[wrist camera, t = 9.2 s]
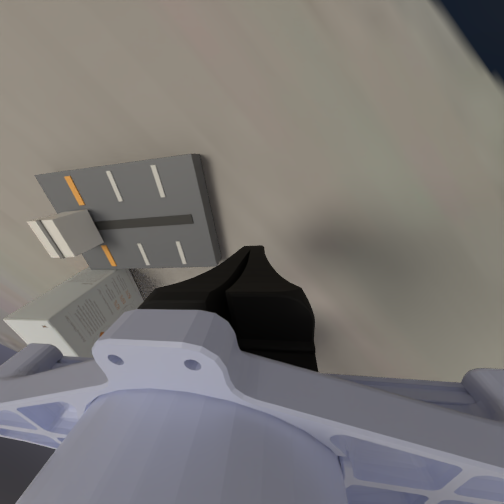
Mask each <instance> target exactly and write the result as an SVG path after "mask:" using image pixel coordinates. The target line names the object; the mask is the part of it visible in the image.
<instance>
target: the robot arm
mask: <svg viewBox="0 0 504 504" xmlns="http://www.w3.org/2000/svg"><path fill="white" fill-rule="evenodd" d="M314 327H315V319H314V314H313V311H312V308H311V306H310V303H309V301H308V299H307V297H306V295H305V293H304V292H303V290H302V288H300V287H298V286H296V285H294V284H292V283H290V282H288V281H287V280H285V279H284V278H282V277H281V276H280V275H279V274H278V273H277V272H276V271H275V270H274V269H273V267H272V266H271V265H270V263H269V261H268V260H267V258H266V256H265V251H264V247H263V246H244V247H242V248H241V249H240V250H238V251H237V252H236V253H235V254H233V255H232V256H231V257H230V258H228V259H227V260H225V261H224V262H222V263H221V264H220V265H218V266H216V267H215V268H213V269H211V270H209V271H207V272H205V273H203V274H201V275H198V276H196V277H194V278H191V279H188V280H185V281H182V282H179V283H176V284H172V285H168V286H164V287H160V288H156V289H155V290H154V291H153V292H152V293H151V294H150V295H149V296H148V297H147V298H146V299H145V300H144V302H143V303H142V304H141V305H140V306H139V307H138V308H137V309H135V310H131V311H126V312H124V313H123V314H122V315H121V316H120V317H119V318H118V319H117V320H116V321H115V322H114V323H113V324H112V325H111V326H110V327H109V328H108V329H107V330H106V331H105V332H104V333H103V334H102V336H101V337H100V338H99V339H98V340H97V341H96V342H95V344H94V346H93V347H92V354H93V357H94V358H87V357H72V356H63V354H62V352H61V351H60V350H59V349H58V348H57V347H56V346H54V345H51V344H40V343H30V344H29V345H27V346H26V347H25V348H23V349H22V350H21V351H19V352H18V353H17V354H15V355H14V356H13V357H11V358H10V359H9V360H7V361H6V362H5V363H4V364H2V365H1V366H0V437H6V438H11V439H16V440H22V441H26V442H30V443H34V444H38V445H42V446H46V447H50V448H53V449H56V451H55V452H54V454H53V455H52V456H51V457H50V459H49V460H48V461H47V463H46V464H45V465H44V467H43V468H42V469H41V471H40V472H39V473H38V475H37V476H36V477H35V478H34V480H33V481H32V483H31V484H30V485H29V486H28V488H27V489H26V490H25V492H24V493H23V494H22V496H21V497H20V499H19V500H18V501H17V502H16V504H504V369H492V368H476V369H473V370H470V371H468V372H467V373H466V374H465V375H464V377H463V380H462V382H461V383H457V382H442V381H428V380H413V379H398V378H383V377H368V376H354V375H339V374H324V373H319V372H318V368H317V362H316V357H315V345H314Z"/></svg>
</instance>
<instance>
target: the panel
mask: <svg viewBox="0 0 504 504" xmlns="http://www.w3.org/2000/svg"><path fill="white" fill-rule="evenodd" d="M35 177H36V179H37V180H38V182H39V184H40V185H41V187H42V189H43V190H44V192H45V194H46V195H47V197H48V199H49V200H50V202H51V204H52V205H53V207H54V209H55V210H56V212H57V214H58V213H62V212H67V211H78V210H87V211H88V212H89V214H90V216H91V218H92V220H93V222H94V224H95V226H96V228H97V230H98V232H99V234H100V235H101V237H102V239H103V241H104V243H102V244H100V245H98V246H96V247H94V248H92V249H90V250H88V251H86V252H84V253H82V255H83V257H84V259H85V260H86V262H87V264H88V265H89V267H90V269H91V270H98V269H135V268H173V267H210V266H217V265H218V264H219V262H220V260H221V253H220V249H219V244H218V239H217V235H216V230H215V225H214V220H213V216H212V211H211V206H210V202H209V197H208V192H207V188H206V183H205V178H204V173H203V169H202V164H201V159H200V155H199V154H186V155H179V156H171V157H164V158H157V159H149V160H142V161H135V162H127V163H120V164H113V165H105V166H98V167H91V168H83V169H76V170H69V171H61V172H54V173H47V174H39V175H35Z"/></svg>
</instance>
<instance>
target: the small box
mask: <svg viewBox="0 0 504 504" xmlns="http://www.w3.org/2000/svg"><path fill="white" fill-rule="evenodd" d="M143 302H144V300H143V298H142V296H141V293H140V291H139V289H138V287H137V285H136V283H135V281H134V279H133V277H132V275H131V272H130V270H129V269H98V270H91V269H90V267H88V268H86V269H84V270H83V271H81V272H79V273H78V274H76V275H74V276H73V277H71V278H69V279H68V280H66V281H64V282H63V283H61V284H59V285H58V286H56V287H54V288H53V289H51V290H50V291H48V292H46V293H45V294H43V295H41V296H40V297H38V298H36V299H35V300H33V301H31V302H30V303H28V304H26V305H25V306H23V307H22V308H20V309H18V310H17V311H15V312H13V313H12V314H10V315H8V316H7V317H5V318H4V319H3V321H5V322H6V323H7V324H8V325H9V326H10V327H11V328H12V329H13V330H14V331H15V332H16V333H17V334H18V335H19V336H20V337H21V338H22V339H23V340H24V341H25V342H26V343H27V344H28V345H29V344H30V343H40V344H51V345H54V346H56V347H57V348H58V349H59V350H60V351H61V352H62V354H63V356H72V357H87V358H94V357H93V354H92V347H93V346H94V344H95V342H96V341H97V340H98V339H99V338H100V337H101V336H102V334H103V333H104V332H105V331H106V330H107V329H108V328H109V327H110V326H111V325H112V324H113V323H114V322H115V321H116V320H117V319H118V318H119V317H120V316H121V315H122V314H123V313H124V312H126V311H131V310H135V309H137V308H138V307H139V306H140V305H141V304H142V303H143Z"/></svg>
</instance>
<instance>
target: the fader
mask: <svg viewBox="0 0 504 504" xmlns="http://www.w3.org/2000/svg"><path fill="white" fill-rule="evenodd" d="M27 223H28V224H29V226H30V227H31V229H32V230H33V231H34V233H35V234H36V236H37V237H38V239H39V240H40V241H41V243H42V244H43V246H44V247H45V249H46V250H47V252H48V253H49V254H50V256H51V257H52V258H58V257H60V258H65V257H76V256H78V255H80V254H82V253H84V252H86V251H88V250H90V249H92V248H94V247H96V246H98V245H100V244H102V243H104V241H103V239H102V237H101V235H100V234H99V232H98V230H97V228H96V226H95V224H94V222H93V220H92V218H91V216H90V214H89V212H88V211H87V210H78V211H67V212H62V213H58V214H54V215H50V216H47V217H43V218H39V219H35V220H31V221H28V222H27Z"/></svg>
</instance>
